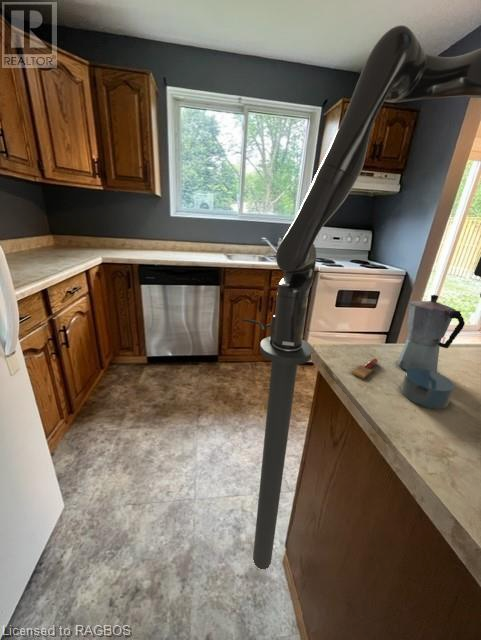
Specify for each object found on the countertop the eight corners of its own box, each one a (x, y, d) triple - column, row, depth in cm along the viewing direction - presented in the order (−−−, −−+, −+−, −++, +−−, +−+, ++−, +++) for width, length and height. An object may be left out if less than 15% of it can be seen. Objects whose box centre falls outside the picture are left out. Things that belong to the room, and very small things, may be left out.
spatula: (363, 378, 66) (364, 373, 66) (351, 373, 68) (352, 368, 68) (380, 364, 74) (381, 360, 73) (369, 360, 76) (370, 355, 75)
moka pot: (408, 354, 80) (427, 288, 74) (459, 383, 67) (489, 305, 60) (381, 356, 78) (399, 289, 71) (429, 387, 64) (456, 306, 57)
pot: (392, 397, 60) (397, 379, 58) (409, 378, 68) (414, 362, 66) (440, 418, 54) (447, 399, 52) (453, 394, 62) (459, 377, 60)
